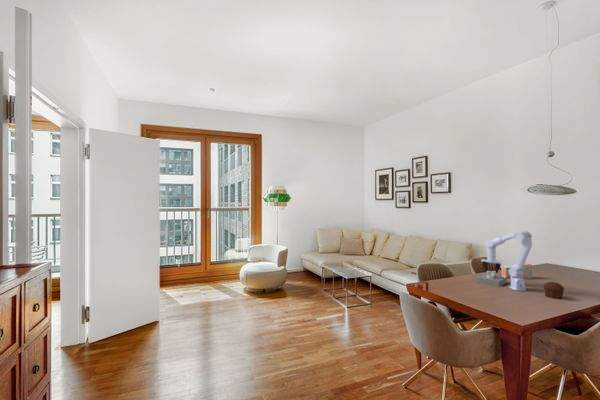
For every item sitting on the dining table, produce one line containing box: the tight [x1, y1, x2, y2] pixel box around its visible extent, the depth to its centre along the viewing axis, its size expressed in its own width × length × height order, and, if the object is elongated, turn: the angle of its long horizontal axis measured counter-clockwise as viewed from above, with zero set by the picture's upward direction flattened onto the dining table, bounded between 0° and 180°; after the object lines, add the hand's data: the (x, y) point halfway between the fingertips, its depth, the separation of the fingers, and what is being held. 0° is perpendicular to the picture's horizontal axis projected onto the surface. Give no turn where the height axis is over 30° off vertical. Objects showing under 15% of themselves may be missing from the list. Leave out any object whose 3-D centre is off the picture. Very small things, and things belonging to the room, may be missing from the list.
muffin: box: [543, 281, 565, 300], centre depth 209 cm, size 12×11×10 cm
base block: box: [476, 273, 508, 287], centre depth 246 cm, size 16×16×4 cm
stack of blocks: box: [501, 262, 533, 279], centre depth 261 cm, size 21×6×12 cm, turn 87°
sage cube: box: [486, 269, 497, 279], centre depth 245 cm, size 5×5×5 cm
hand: (491, 272), depth 246 cm, fingers open, 7 cm apart
